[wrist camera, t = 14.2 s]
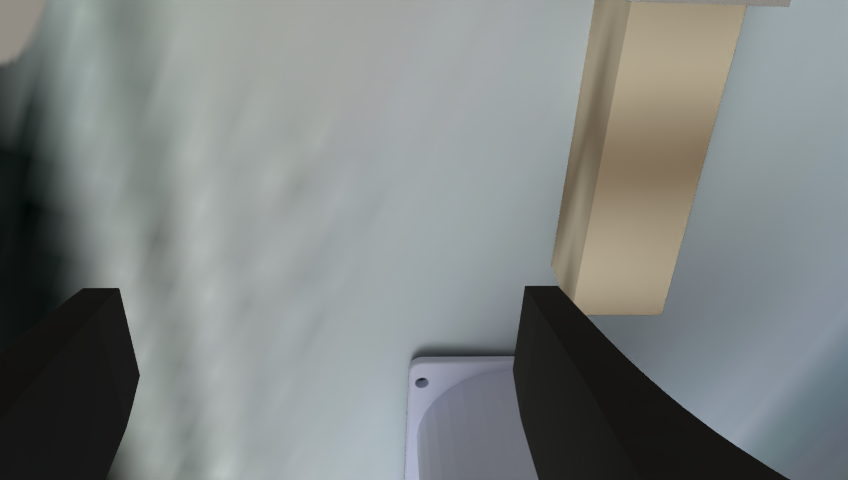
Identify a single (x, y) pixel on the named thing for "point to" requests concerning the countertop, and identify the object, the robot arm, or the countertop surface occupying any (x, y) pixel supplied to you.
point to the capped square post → (640, 146)
